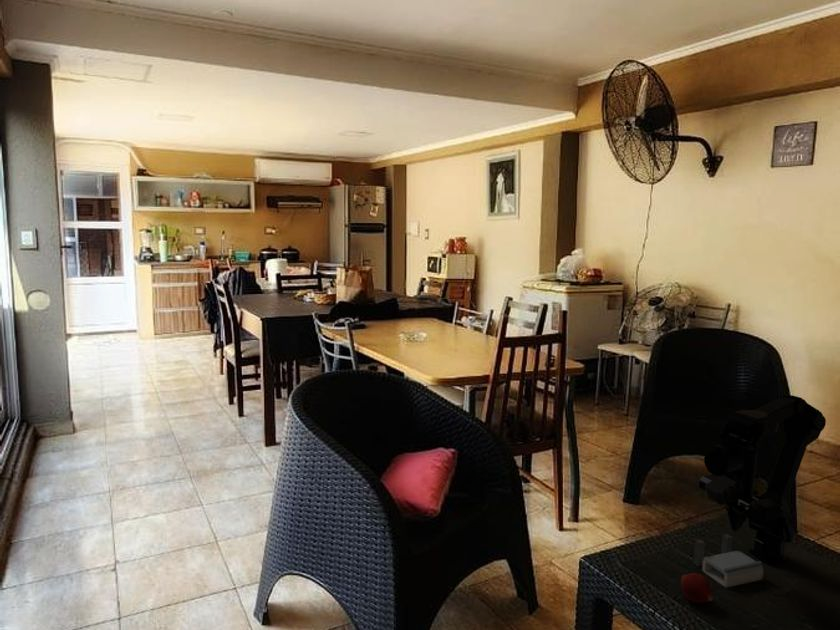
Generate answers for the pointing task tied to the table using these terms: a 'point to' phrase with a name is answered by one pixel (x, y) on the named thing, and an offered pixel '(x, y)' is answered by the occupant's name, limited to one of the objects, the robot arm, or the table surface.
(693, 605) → the table surface
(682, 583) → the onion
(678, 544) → the table surface
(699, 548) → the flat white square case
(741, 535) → the table surface
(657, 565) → the table surface
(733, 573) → the cover
